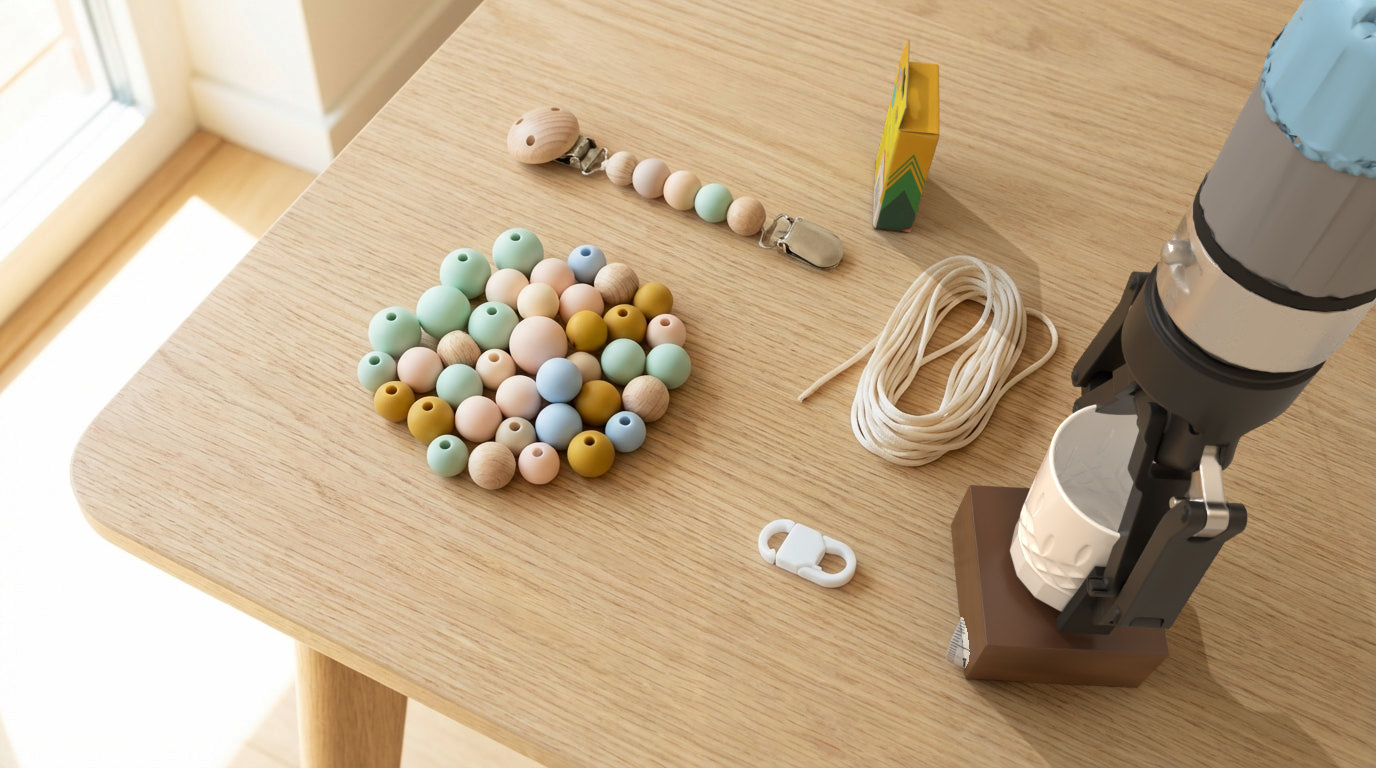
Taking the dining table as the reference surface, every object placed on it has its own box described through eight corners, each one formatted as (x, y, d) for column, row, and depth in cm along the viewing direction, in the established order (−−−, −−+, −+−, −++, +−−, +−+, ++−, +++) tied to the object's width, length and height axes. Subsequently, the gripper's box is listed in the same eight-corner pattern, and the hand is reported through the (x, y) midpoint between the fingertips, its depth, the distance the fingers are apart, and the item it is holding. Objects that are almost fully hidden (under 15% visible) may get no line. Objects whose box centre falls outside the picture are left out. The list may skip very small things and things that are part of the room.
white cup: (1170, 581, 67) (1246, 493, 59) (1064, 651, 65) (1127, 570, 57) (1074, 475, 71) (1132, 378, 63) (970, 537, 68) (1016, 445, 60)
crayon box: (912, 234, 89) (946, 116, 79) (871, 230, 89) (901, 110, 79) (914, 162, 93) (946, 41, 83) (875, 157, 93) (903, 36, 84)
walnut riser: (1110, 532, 76) (1138, 493, 72) (1138, 688, 70) (1170, 655, 66) (950, 524, 76) (969, 484, 71) (964, 679, 70) (986, 645, 66)
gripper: (1110, 120, 55) (986, 401, 74) (1201, 525, 43) (1026, 735, 62) (1276, 130, 55) (1109, 408, 74) (1411, 537, 43) (1172, 742, 62)
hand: (1071, 557), depth 68 cm, fingers closed on white cup, 7 cm apart
